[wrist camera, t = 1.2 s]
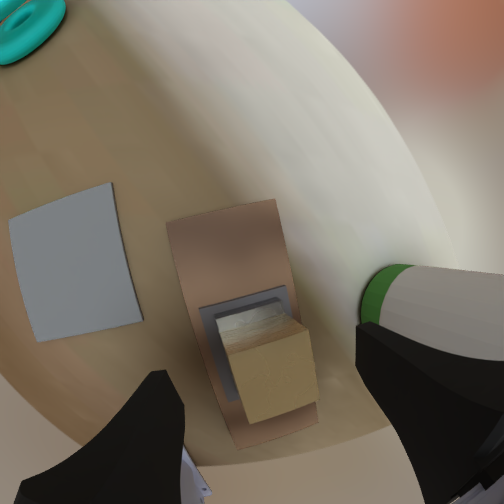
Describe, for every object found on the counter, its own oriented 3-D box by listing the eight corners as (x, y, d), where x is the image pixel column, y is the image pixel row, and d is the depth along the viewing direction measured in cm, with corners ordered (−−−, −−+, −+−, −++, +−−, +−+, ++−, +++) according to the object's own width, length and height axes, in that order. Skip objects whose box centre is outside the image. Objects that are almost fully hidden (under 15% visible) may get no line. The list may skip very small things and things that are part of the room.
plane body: (306, 408, 21) (320, 425, 18) (232, 432, 20) (238, 454, 17) (264, 203, 20) (277, 197, 17) (168, 225, 18) (164, 222, 15)
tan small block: (292, 376, 17) (321, 409, 13) (237, 393, 17) (253, 434, 12) (276, 296, 17) (305, 314, 12) (213, 313, 16) (223, 340, 12)
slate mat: (143, 319, 18) (143, 321, 18) (39, 340, 16) (37, 342, 16) (112, 183, 17) (110, 181, 17) (10, 220, 15) (8, 220, 15)
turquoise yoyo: (-53, 29, 2) (13, -38, 3) (-16, 67, 12) (35, 7, 12) (-16, 18, 4) (68, -55, 5) (26, 72, 14) (85, 5, 15)
